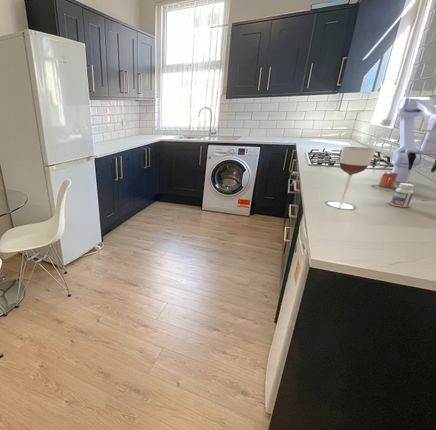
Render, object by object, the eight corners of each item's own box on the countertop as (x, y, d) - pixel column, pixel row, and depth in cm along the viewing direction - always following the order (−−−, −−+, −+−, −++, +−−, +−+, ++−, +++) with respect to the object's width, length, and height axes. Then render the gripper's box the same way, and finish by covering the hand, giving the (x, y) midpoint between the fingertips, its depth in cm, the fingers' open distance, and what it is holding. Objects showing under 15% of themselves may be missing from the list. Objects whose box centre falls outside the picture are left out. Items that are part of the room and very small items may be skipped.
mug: (377, 184, 140) (382, 171, 138) (392, 185, 137) (397, 172, 135) (379, 187, 134) (384, 174, 132) (394, 189, 131) (400, 175, 129)
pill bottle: (400, 203, 117) (408, 182, 113) (411, 207, 112) (420, 186, 108) (386, 202, 117) (394, 182, 114) (397, 207, 112) (405, 185, 109)
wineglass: (361, 210, 109) (382, 150, 101) (332, 208, 111) (350, 150, 102) (347, 202, 118) (366, 147, 109) (321, 200, 119) (337, 146, 111)
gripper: (412, 140, 127) (400, 170, 132) (459, 143, 119) (445, 174, 124) (409, 139, 132) (398, 167, 137) (454, 141, 124) (441, 171, 129)
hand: (420, 170), depth 131 cm, fingers open, 7 cm apart
